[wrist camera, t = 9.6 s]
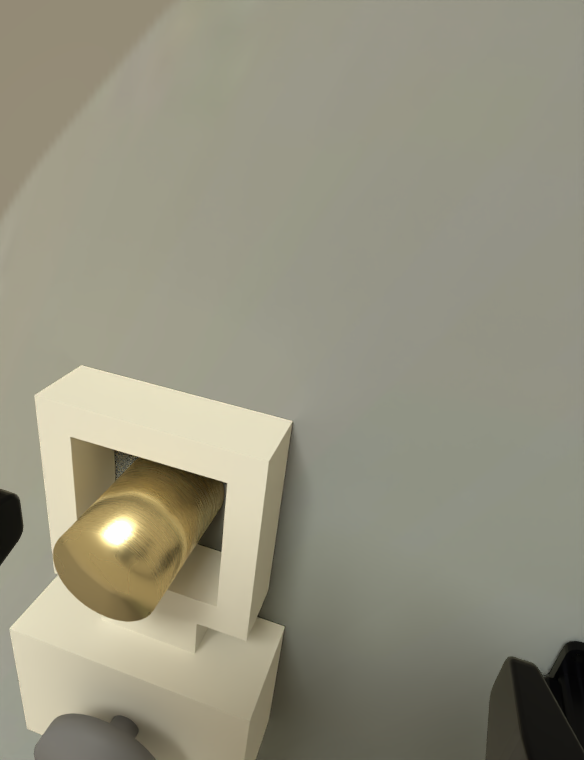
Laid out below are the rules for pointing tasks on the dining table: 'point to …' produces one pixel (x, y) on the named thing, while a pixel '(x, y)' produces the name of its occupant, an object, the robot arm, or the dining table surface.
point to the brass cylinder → (136, 538)
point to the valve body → (179, 603)
